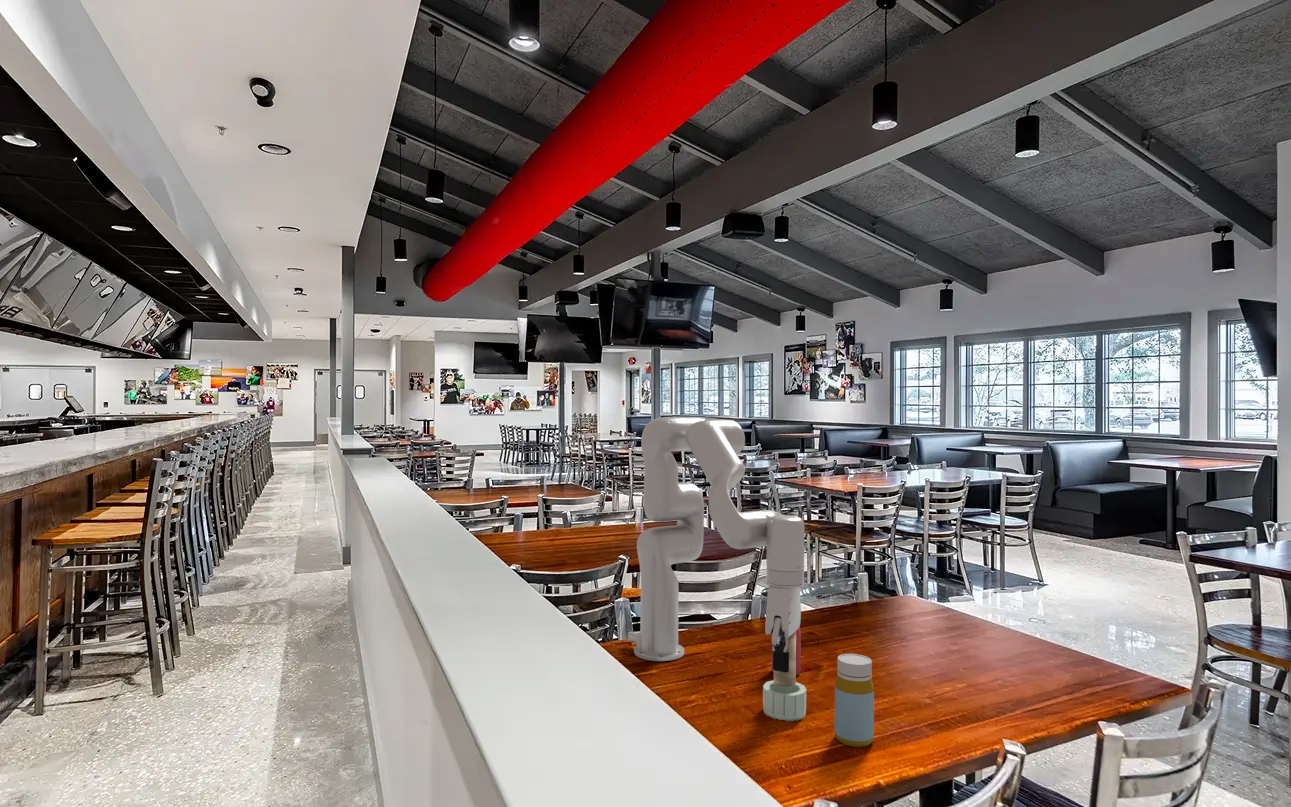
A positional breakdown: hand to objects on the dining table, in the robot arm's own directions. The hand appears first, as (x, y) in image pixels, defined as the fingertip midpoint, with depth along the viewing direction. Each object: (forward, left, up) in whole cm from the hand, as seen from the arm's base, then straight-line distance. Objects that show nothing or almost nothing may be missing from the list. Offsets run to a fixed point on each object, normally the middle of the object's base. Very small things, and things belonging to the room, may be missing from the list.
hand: (784, 666), depth 148 cm
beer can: (-6, +22, -10) cm, 25 cm away
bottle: (+15, -6, -10) cm, 19 cm away
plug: (0, 0, -3) cm, 3 cm away
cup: (0, 0, -9) cm, 9 cm away
